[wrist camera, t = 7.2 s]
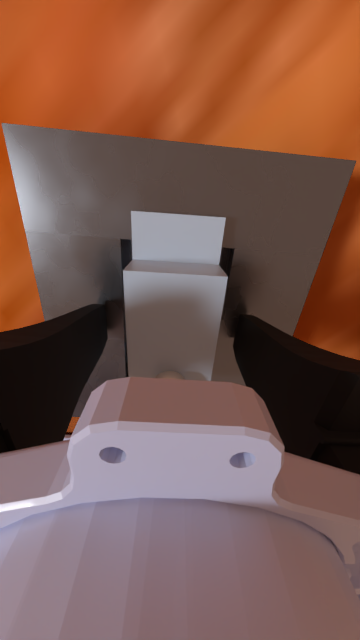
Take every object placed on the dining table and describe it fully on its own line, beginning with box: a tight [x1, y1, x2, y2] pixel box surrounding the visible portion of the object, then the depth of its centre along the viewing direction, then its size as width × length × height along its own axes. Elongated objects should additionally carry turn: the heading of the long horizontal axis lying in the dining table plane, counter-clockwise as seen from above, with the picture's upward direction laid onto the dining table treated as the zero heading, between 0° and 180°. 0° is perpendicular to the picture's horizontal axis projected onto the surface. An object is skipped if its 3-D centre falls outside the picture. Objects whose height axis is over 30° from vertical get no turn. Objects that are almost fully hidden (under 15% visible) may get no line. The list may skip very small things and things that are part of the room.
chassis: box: [2, 123, 356, 417], centre depth 14 cm, size 16×14×3 cm
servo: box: [123, 211, 228, 381], centre depth 12 cm, size 11×4×6 cm, turn 176°
